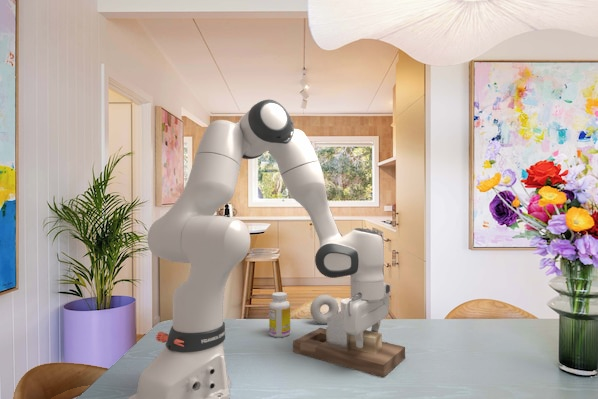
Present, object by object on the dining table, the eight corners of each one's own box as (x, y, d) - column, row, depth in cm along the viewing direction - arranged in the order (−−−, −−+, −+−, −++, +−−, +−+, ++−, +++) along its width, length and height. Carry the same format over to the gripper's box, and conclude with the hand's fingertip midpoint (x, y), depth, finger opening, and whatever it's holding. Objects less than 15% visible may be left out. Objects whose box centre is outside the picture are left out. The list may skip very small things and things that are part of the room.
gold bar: (374, 354, 98) (374, 338, 98) (326, 342, 107) (326, 327, 107) (382, 348, 102) (381, 333, 102) (334, 337, 110) (334, 323, 110)
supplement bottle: (291, 331, 125) (291, 291, 125) (289, 338, 118) (288, 296, 118) (271, 330, 126) (271, 291, 126) (267, 337, 119) (267, 296, 119)
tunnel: (346, 350, 101) (346, 321, 101) (327, 345, 104) (327, 317, 104) (361, 340, 108) (361, 314, 108) (342, 336, 111) (342, 310, 111)
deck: (383, 377, 92) (383, 365, 92) (293, 351, 108) (293, 341, 108) (405, 358, 103) (405, 346, 103) (320, 337, 119) (320, 327, 119)
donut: (336, 321, 135) (336, 292, 135) (340, 324, 131) (339, 295, 132) (309, 323, 133) (309, 294, 133) (311, 326, 129) (311, 296, 129)
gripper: (360, 299, 92) (360, 357, 92) (393, 284, 108) (393, 333, 108) (337, 296, 95) (337, 351, 95) (372, 281, 112) (372, 329, 112)
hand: (367, 342), depth 102 cm, fingers open, 7 cm apart
